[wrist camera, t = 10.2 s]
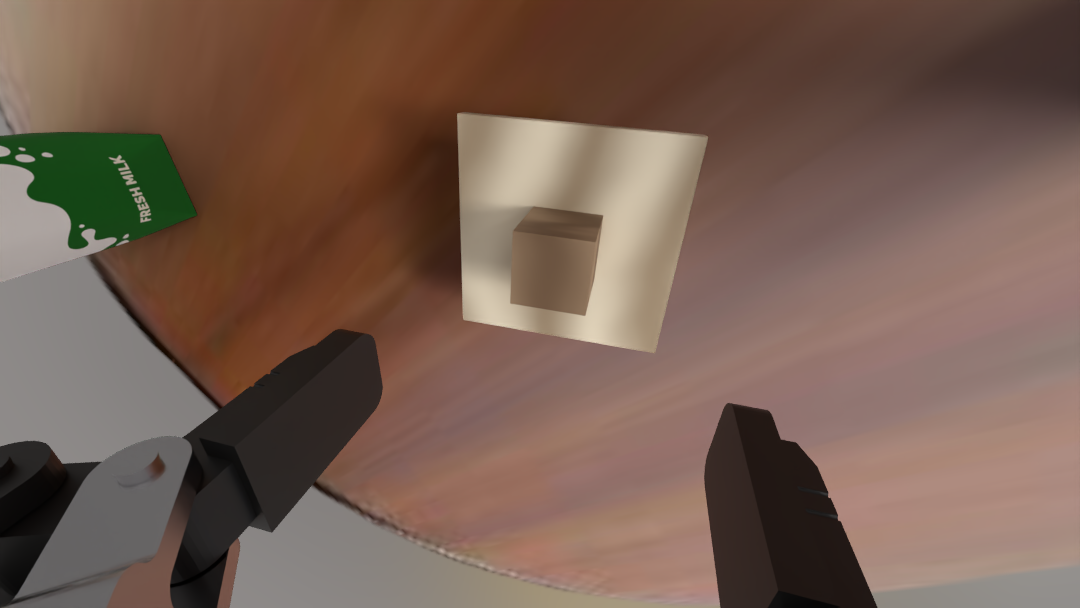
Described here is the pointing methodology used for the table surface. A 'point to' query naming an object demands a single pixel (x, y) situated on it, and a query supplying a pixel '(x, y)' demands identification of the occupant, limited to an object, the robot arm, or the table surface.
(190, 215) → the milk carton
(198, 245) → the table surface
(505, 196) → the birch lid
